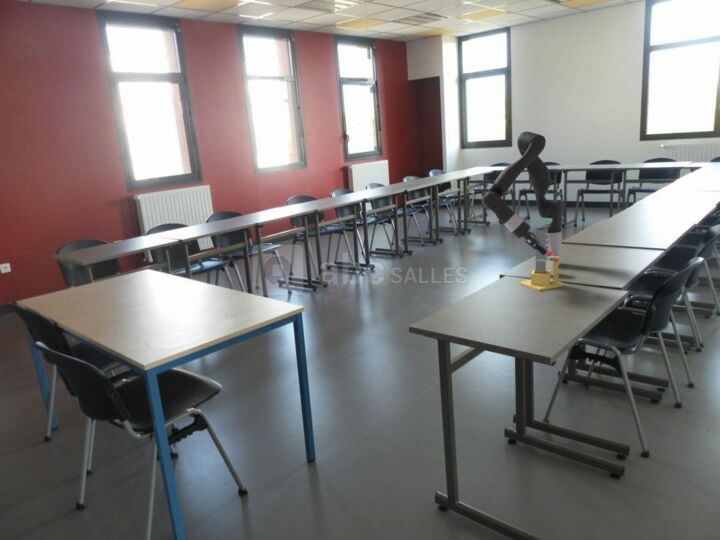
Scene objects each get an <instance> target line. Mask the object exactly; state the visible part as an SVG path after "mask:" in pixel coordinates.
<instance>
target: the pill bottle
mask: <svg viewBox="0 0 720 540" xmlns="http://www.w3.org/2000/svg"><path fill="white" fill-rule="evenodd" d="M547 252H548V255H546V257H548V261H546V270H551V275H552V276H553V261H549V258H553V257H554V256H553V255H552V251H547Z"/></svg>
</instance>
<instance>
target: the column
mask: <svg viewBox="0 0 720 540" xmlns="http://www.w3.org/2000/svg"><path fill="white" fill-rule="evenodd" d="M547 229H548V228H542V227H538V228H537V227H535V229H534V234H535V235H536V240H537V241H538V243H539V244H540V245H541V246H542V247H543V248H544V249H545V250H548V246H546V244H548V241H546V239H548V235H546V233H547ZM546 255H548V252H547V253H546V254H545V255H542V254H541V253H540V252H539V251H538V250H536V249H535V259H534V260H535V270H536V272H540V273H545V272H546V261H548V257H546Z"/></svg>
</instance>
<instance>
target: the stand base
mask: <svg viewBox="0 0 720 540" xmlns="http://www.w3.org/2000/svg"><path fill="white" fill-rule="evenodd" d="M549 261H553V275H552V276H551V270H546V272H545V273H540V272H536V269H532V271H531V273H530V279H526V280H521V281H518V282H517V285H519V286H522V287H526V288H528V289H531V290H534V291H537V292H542V291H545V290H546V291H547V290H551V289H555V288H560V287H564V286H565V283H563V282H561V281H559V266H558V264H559V256H554V257H553V258H549ZM551 277H552V278H551Z"/></svg>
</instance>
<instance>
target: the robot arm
mask: <svg viewBox="0 0 720 540" xmlns="http://www.w3.org/2000/svg"><path fill="white" fill-rule="evenodd" d="M516 143H517V148H518V151H519V153H520V155H521V157H520V158H519V159H517V160H515V161H514V162H512V163H511V164H509V165H508V166H507V167H505V168H504V169H502V170H501V172H500V173H499V175H498V176H497V177H496V179H495V180H494V182H493V183H492V185H491V187H490V188H489V189H488V191H487V192H486V193H485V194H484V195H483V196H482V198H481V205H482V207H483V208H484V209H487V210H491V211H492V212H493V213H494V214H495V216H496V218H497V219H498V220H499V221H500V223H502V224H503V225H504V226H505V227H506V229H508V230H509V231H510V233H512V234H513V235H514V237H516V238H517V239H519V240H520V238H524V241H525V243H526V244H527V245H528V246H530V247H531V248H532V249H533V250H535V251H536V250H538V251H539V252H540V253H541V254H542V255H545V254H546V253H547V251H552V255H553V256H559V264H558V265H559V266H561V264H562V227H563V225H562V224H563V214H564V213H563V211H564V206H563V201H562V200H561V199H547V198H546V194H547V192H548V190H549V188H550V187H551V185H552V177H551V173H550V171H549V168H548V166H547V165H546V163H545V162H544V160H542V159H541V157H539V156H540V154H541V153H542V152H543V151H544V149H545V147H546V143H547V140H546V138H545V136H544V135H542V134H539V133H535V132H532V131H523V132H521V133H520V134H519V135H518V137H517V141H516ZM524 170H526V171H527V173H528V177H529V180H530V185H531V186H532V190H533V193H534V195H535V200H536V205H537V211H538V214H539V216H540V217H541V218H544V219H552V222H550V223H548V224H544V225H542V227H541V228H548V229H547V233H546V235H548V239H546V241H548V244H546V246H548V250H545V249H544V248H543V247H542V246H541V245H540V244H539V243H538V241H537V240H536V233H535V232H533V231H532V232H531V231H529V230H531V228H532V227H531V225H530V224H529V223H528V222H527V221H526V220H525V219H523V218H522V217H521V216H520V214H518V213H516V212H515V211H514V210H513V209H512V208H511V207H509V206H508V205H507V203H506V202H505V201H504V200H503V198H502V197H504V195H505V194H506V192H507V191H508V190H509V189H510V188H511V186H513V184H514V183H515V182H516V179H518V177H519V176H520V175H521V174H522V173H523V171H524Z"/></svg>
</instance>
